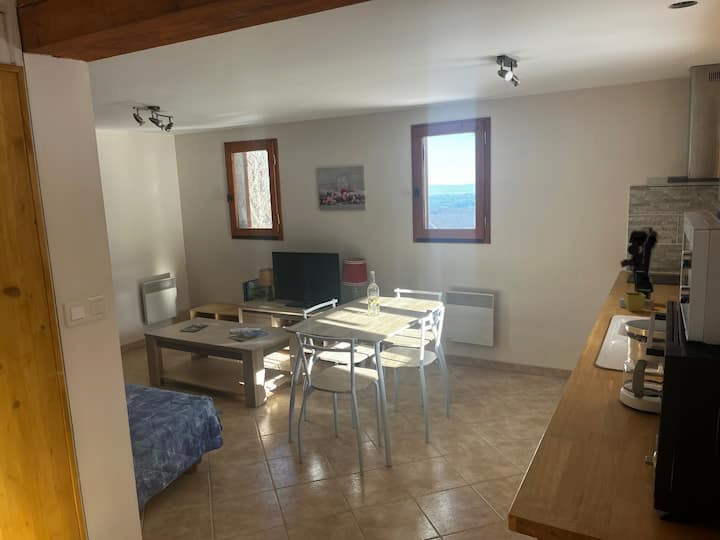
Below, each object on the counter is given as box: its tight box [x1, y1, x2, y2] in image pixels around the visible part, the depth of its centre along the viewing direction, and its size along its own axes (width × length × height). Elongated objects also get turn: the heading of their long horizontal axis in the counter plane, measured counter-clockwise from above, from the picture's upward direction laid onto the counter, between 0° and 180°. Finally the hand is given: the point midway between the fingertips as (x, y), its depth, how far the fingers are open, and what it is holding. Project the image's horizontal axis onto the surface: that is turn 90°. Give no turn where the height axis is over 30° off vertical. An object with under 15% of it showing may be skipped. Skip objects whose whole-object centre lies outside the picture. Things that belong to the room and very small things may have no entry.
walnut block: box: [642, 299, 655, 310], centre depth 288 cm, size 4×4×4 cm
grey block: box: [619, 297, 627, 309], centre depth 292 cm, size 4×4×4 cm
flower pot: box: [623, 291, 646, 312], centre depth 283 cm, size 9×9×9 cm
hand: (636, 282), depth 288 cm, fingers open, 9 cm apart
